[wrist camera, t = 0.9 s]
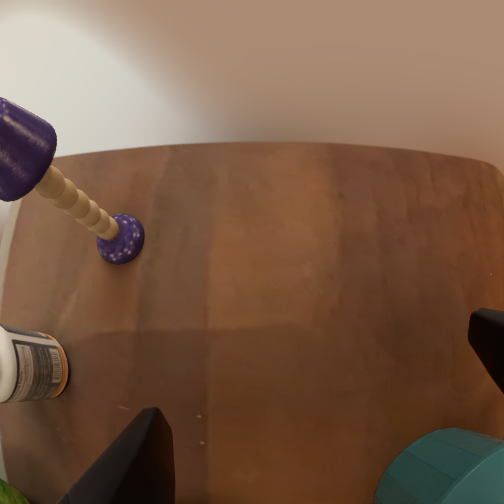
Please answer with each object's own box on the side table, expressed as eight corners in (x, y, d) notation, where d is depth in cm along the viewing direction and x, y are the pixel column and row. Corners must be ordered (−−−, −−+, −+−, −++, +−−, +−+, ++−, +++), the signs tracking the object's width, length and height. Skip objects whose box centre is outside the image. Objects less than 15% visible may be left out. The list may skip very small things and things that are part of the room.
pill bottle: (18, 369, 21) (-63, 361, 12) (41, 321, 23) (-42, 297, 13) (55, 411, 20) (-29, 421, 11) (81, 360, 22) (-6, 353, 12)
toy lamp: (146, 266, 24) (-2, 138, 8) (95, 275, 24) (-62, 177, 8) (143, 211, 25) (31, 62, 10) (96, 223, 25) (-31, 101, 10)
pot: (514, 431, 17) (576, 441, 9) (401, 567, 14) (434, 614, 6) (454, 375, 20) (524, 376, 12) (320, 530, 16) (339, 592, 8)
